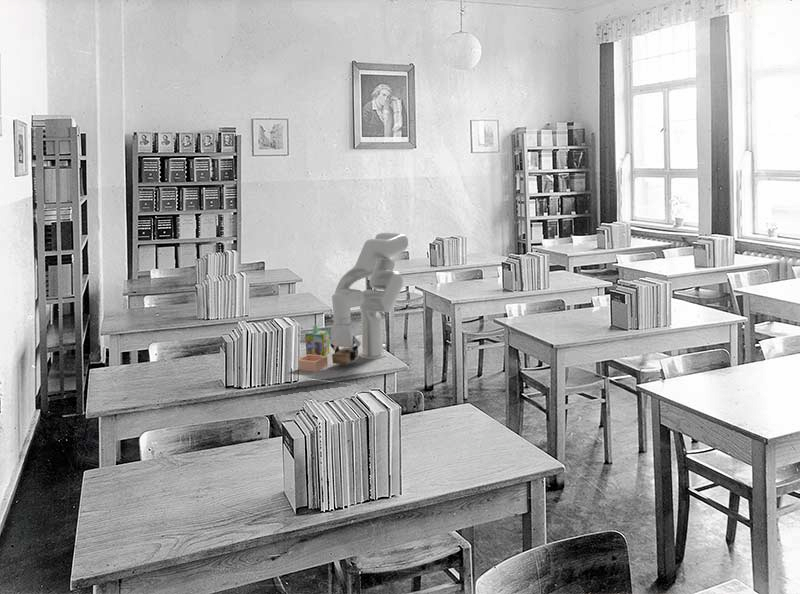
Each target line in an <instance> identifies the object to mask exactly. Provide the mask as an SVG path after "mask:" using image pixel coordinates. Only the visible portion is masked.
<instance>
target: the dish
mask: <svg viewBox="0 0 800 594" xmlns="http://www.w3.org/2000/svg"><path fill="white" fill-rule="evenodd" d="M298 359H299V370H298V371H303V372H313V373H317V372H319V371H321V370H323V369H324V368H326V367H328V366H329V364H328V363H329V361H328V355H327V356H320V355H311V354H308V355H306V354H305V355H304V356H301V357H299V358H298Z"/></svg>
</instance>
